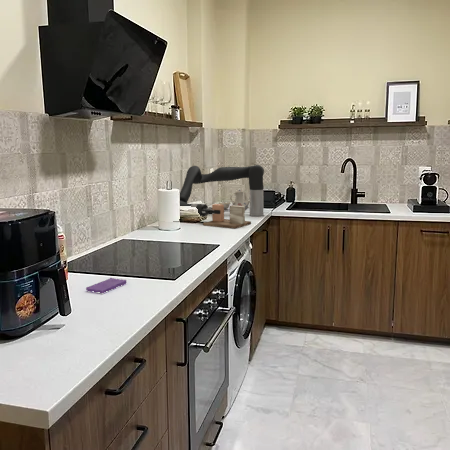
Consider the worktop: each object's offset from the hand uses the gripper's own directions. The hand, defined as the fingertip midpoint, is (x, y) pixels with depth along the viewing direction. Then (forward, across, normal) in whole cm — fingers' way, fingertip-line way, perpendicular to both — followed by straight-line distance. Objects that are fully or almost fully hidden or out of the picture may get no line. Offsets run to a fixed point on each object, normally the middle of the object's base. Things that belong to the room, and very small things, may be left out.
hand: (221, 211), depth 274 cm
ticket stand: (+4, 0, -8) cm, 8 cm away
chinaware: (-25, -57, -8) cm, 63 cm away
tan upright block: (-3, 0, -6) cm, 6 cm away
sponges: (+34, +122, -8) cm, 127 cm away
